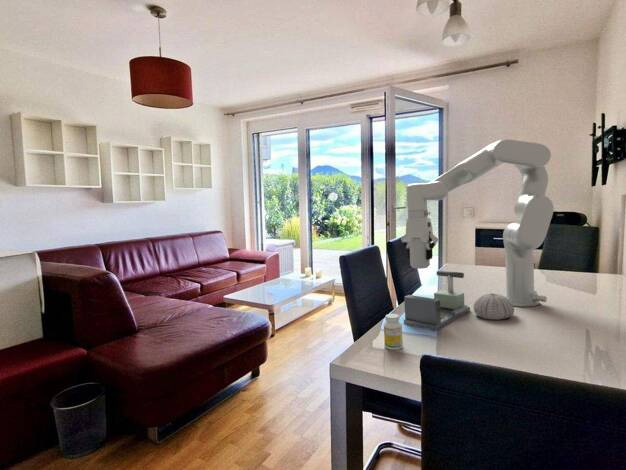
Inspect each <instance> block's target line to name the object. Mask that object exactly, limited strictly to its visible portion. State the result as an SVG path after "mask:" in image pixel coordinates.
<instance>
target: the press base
mask: <svg viewBox="0 0 626 470" xmlns="http://www.w3.org/2000/svg"><path fill="white" fill-rule="evenodd" d="M403 299H404V300H403V302H404V303H403V304H404V316H405V318H404V319H403V325H409V326H413V327H414V326H415V327H416V328H417V327H418V328H423V329H426V330H431V331H437V330H439V329H440V328H442V327H444V326H446V325H447V324H449V323H451V322H452V321H455V320H456V319H458V318H460V317H461V316H464V315H465V314H467V313H469V312H470V311H471V307H470V306H468V304H464V305H463V306H461V307H459V308H457V309H450V308H444V307H440V300H439V299H434V298H433V297H432V298H431V297H424V296H419V295H412V294H408V295H405V296H403Z"/></svg>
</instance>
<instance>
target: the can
mask: <svg viewBox="0 0 626 470" xmlns="http://www.w3.org/2000/svg"><path fill="white" fill-rule="evenodd" d="M428 244H429V243H428ZM409 247H410V259H409V262H410V264H409V265H410V267H412V268H413V269H418V270H419V269H428V268H429V266H430V265H431V263H430V261H431V259H429V260H427V259H426V250H427V247H426V245H425V243H424V242H423V241H421V239H411V241H410V242H409Z"/></svg>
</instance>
